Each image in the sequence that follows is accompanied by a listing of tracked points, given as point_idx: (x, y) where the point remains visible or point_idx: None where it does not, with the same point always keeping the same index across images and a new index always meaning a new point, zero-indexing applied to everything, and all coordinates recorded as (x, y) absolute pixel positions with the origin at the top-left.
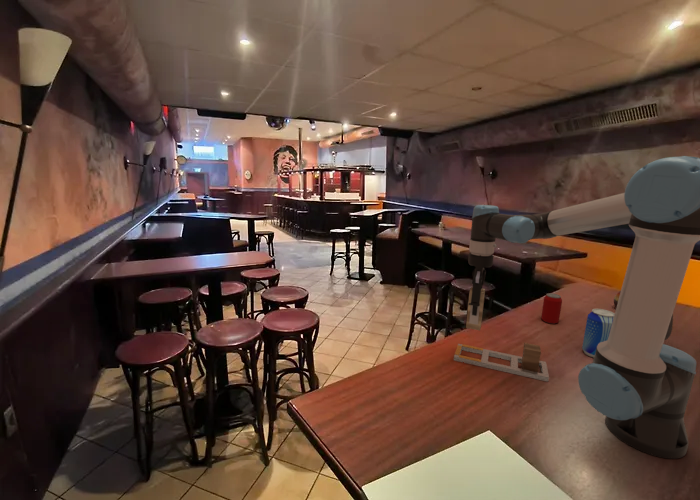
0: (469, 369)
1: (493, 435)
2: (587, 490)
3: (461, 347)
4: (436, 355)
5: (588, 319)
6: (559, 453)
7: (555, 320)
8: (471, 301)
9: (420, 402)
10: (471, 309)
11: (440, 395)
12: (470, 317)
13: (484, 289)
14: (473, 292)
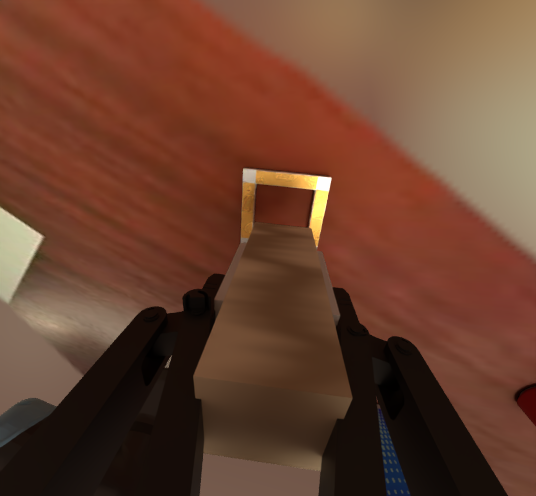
0: (217, 208)
1: (36, 241)
2: (30, 322)
3: (307, 188)
4: (254, 110)
5: (395, 492)
6: (67, 311)
7: (522, 408)
8: (125, 330)
9: (12, 98)
10: (222, 285)
11: (71, 144)
12: (233, 259)
13: (309, 467)
14: (57, 421)
